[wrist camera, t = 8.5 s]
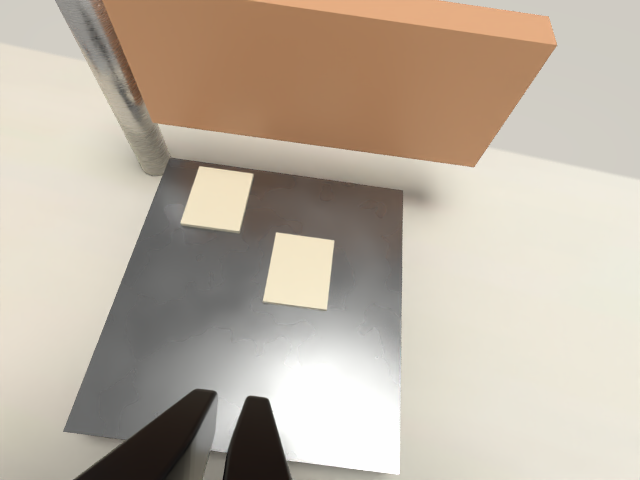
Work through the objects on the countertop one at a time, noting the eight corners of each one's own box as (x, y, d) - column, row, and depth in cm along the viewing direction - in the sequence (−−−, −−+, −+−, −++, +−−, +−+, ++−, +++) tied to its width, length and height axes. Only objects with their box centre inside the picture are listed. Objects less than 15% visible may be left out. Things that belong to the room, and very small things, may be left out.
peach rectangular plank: (474, 167, 17) (557, 45, 12) (152, 122, 17) (92, -23, 12) (471, 142, 18) (548, 16, 13) (163, 99, 18) (110, -48, 12)
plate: (386, 471, 15) (531, 509, 6) (29, 425, 15) (-356, 396, 6) (393, 185, 21) (468, 5, 13) (147, 150, 21) (49, -58, 12)
